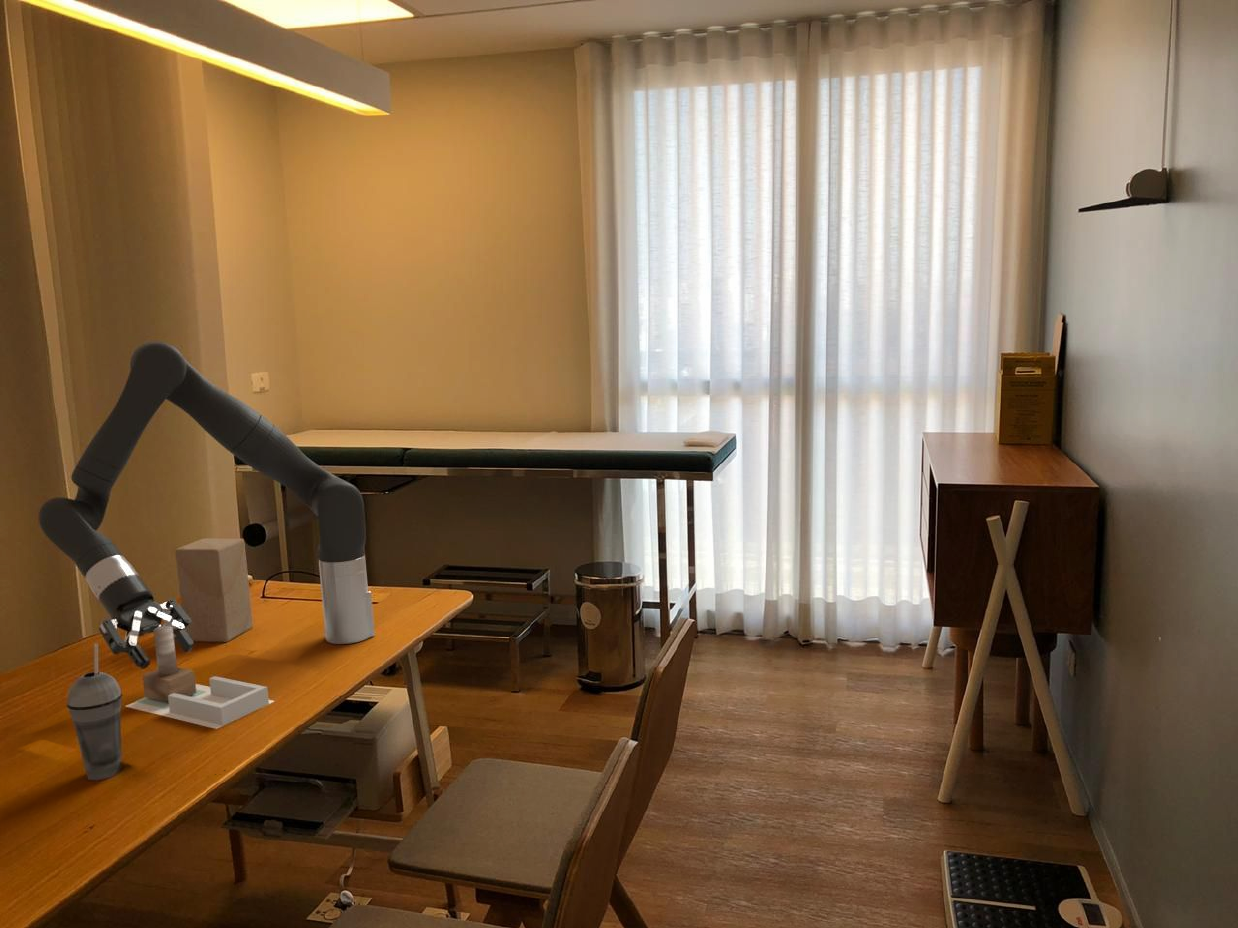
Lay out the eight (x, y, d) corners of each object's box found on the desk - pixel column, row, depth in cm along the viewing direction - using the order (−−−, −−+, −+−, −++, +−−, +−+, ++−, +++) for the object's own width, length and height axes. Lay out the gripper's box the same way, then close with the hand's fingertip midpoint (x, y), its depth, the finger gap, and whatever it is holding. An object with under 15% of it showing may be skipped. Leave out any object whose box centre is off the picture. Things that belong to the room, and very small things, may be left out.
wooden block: (227, 642, 202) (216, 549, 199) (184, 641, 204) (173, 549, 201) (254, 627, 212) (244, 537, 209) (213, 626, 214) (203, 537, 211)
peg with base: (196, 692, 170) (188, 626, 168) (171, 703, 166) (163, 635, 164) (170, 686, 173) (162, 622, 171) (145, 696, 169) (136, 630, 167)
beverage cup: (90, 763, 148) (73, 637, 145) (139, 759, 149) (123, 634, 145) (67, 786, 141) (49, 654, 138) (119, 782, 141) (102, 651, 138)
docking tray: (275, 709, 166) (273, 684, 165) (217, 737, 156) (214, 710, 155) (186, 689, 177) (183, 665, 176) (125, 714, 166) (122, 689, 166)
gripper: (87, 584, 164) (139, 658, 160) (162, 563, 176) (212, 632, 173) (72, 611, 167) (123, 684, 164) (146, 589, 180) (195, 656, 176)
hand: (168, 657), depth 168 cm, fingers open, 8 cm apart
